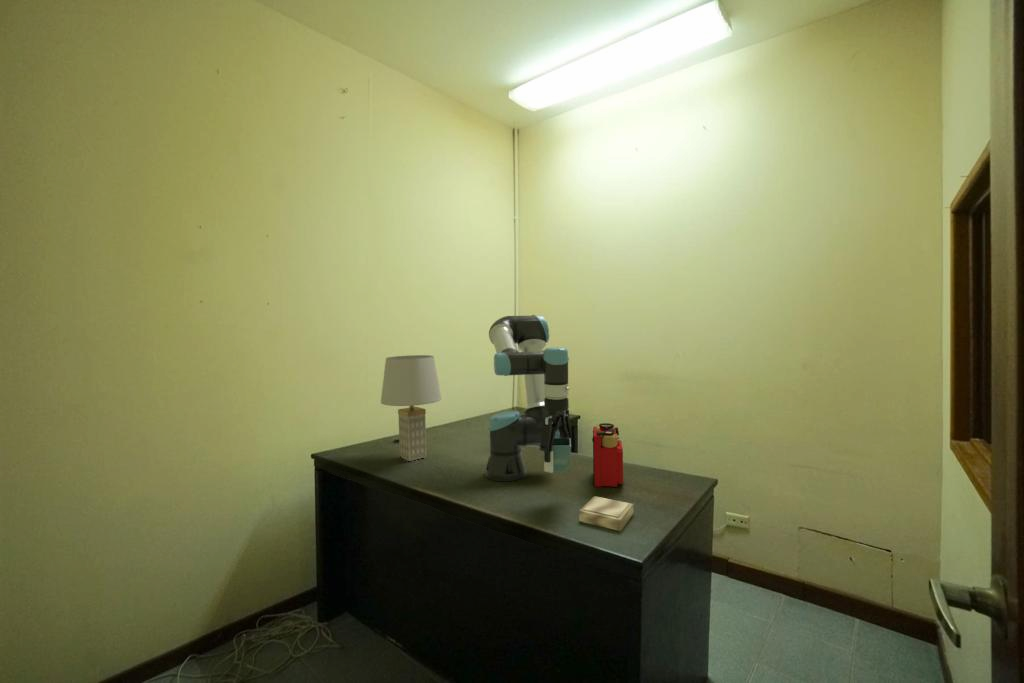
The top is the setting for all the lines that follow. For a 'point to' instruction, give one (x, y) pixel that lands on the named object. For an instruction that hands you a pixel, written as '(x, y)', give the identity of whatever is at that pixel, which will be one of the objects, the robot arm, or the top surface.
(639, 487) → the top surface
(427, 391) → the lamp
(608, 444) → the red mechanical box
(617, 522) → the oak stand
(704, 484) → the top surface
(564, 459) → the flower pot
